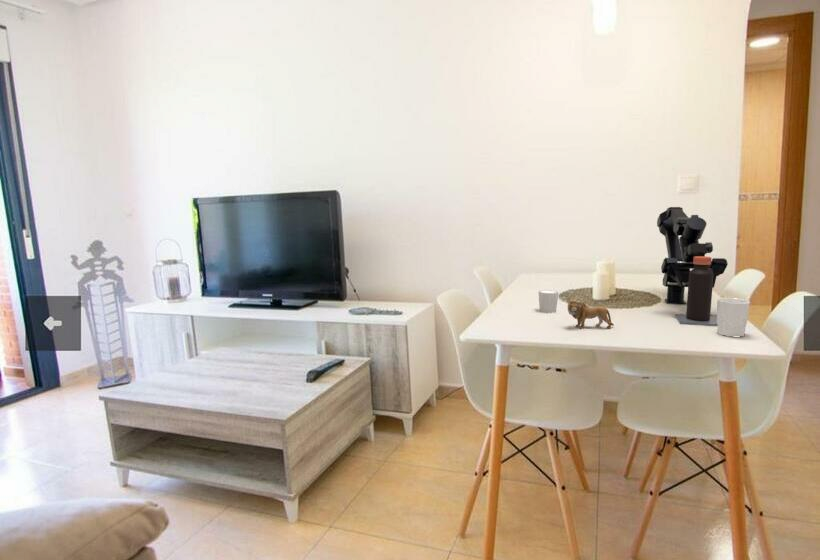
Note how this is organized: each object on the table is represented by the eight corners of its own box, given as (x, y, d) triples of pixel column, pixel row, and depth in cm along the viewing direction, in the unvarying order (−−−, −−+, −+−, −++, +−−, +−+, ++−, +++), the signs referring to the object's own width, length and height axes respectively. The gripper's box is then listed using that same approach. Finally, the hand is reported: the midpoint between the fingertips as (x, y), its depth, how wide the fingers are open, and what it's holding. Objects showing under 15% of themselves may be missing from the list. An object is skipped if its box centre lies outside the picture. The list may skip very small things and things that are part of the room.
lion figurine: (570, 330, 155) (571, 301, 153) (564, 326, 160) (565, 298, 159) (617, 329, 155) (618, 300, 154) (610, 324, 161) (611, 296, 159)
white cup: (715, 336, 146) (718, 302, 144) (714, 329, 153) (716, 297, 151) (748, 339, 142) (751, 304, 140) (745, 332, 149) (748, 299, 147)
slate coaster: (674, 315, 171) (674, 313, 171) (715, 317, 167) (715, 315, 167) (679, 323, 160) (679, 322, 160) (723, 326, 156) (723, 324, 155)
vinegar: (680, 317, 166) (685, 256, 162) (697, 315, 167) (702, 255, 164) (697, 322, 159) (702, 258, 156) (715, 320, 161) (720, 257, 158)
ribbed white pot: (538, 312, 179) (538, 293, 178) (537, 308, 185) (538, 289, 184) (558, 313, 177) (558, 293, 176) (557, 309, 184) (558, 290, 183)
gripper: (665, 233, 169) (671, 271, 160) (728, 233, 164) (737, 272, 156) (658, 254, 178) (663, 291, 169) (718, 254, 173) (726, 292, 165)
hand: (697, 286), depth 164 cm, fingers open, 9 cm apart
